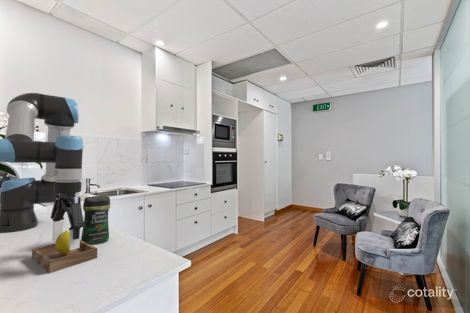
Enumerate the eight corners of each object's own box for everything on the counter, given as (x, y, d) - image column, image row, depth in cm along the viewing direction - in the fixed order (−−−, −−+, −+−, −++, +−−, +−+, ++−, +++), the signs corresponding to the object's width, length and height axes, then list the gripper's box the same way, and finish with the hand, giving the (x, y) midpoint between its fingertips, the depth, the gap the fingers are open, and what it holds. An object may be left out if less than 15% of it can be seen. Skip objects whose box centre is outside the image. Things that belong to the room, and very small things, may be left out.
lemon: (58, 259, 71) (60, 235, 71) (51, 255, 74) (53, 231, 74) (78, 254, 76) (79, 230, 76) (70, 249, 79) (72, 227, 79)
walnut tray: (31, 258, 74) (32, 249, 74) (76, 246, 85) (76, 238, 85) (49, 273, 65) (50, 262, 66) (97, 257, 76) (97, 248, 76)
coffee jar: (82, 247, 85) (84, 198, 85) (79, 241, 91) (81, 195, 91) (111, 242, 91) (112, 196, 92) (106, 236, 97) (108, 193, 97)
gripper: (41, 179, 80) (38, 239, 79) (70, 184, 66) (67, 257, 65) (66, 178, 86) (63, 233, 85) (97, 183, 72) (95, 249, 72)
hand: (65, 244), depth 75 cm, fingers open, 13 cm apart
